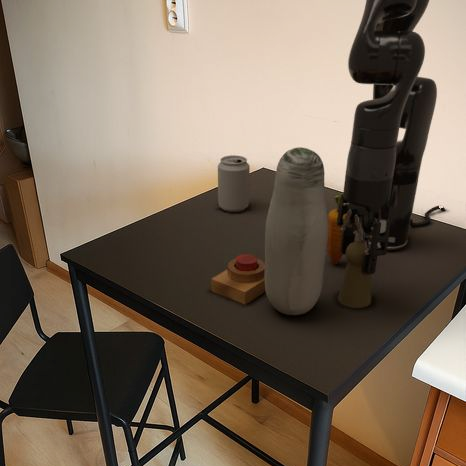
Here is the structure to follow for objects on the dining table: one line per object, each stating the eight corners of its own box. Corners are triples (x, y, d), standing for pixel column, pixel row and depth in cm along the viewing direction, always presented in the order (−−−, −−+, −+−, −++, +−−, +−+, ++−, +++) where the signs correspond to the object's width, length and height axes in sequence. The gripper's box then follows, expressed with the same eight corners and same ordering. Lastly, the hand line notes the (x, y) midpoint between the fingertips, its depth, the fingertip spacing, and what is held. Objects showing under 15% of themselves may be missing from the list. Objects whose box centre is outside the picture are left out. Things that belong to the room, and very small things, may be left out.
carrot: (332, 256, 122) (340, 186, 114) (352, 264, 119) (361, 192, 111) (317, 264, 119) (324, 192, 111) (337, 272, 117) (345, 199, 108)
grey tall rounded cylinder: (328, 320, 102) (345, 157, 86) (271, 327, 100) (278, 162, 84) (309, 292, 110) (322, 139, 94) (256, 298, 108) (260, 143, 92)
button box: (211, 291, 110) (210, 269, 108) (247, 270, 117) (247, 249, 115) (245, 305, 106) (245, 283, 104) (280, 282, 113) (281, 260, 111)
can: (249, 213, 141) (249, 163, 134) (217, 213, 141) (217, 163, 134) (248, 202, 147) (249, 153, 140) (218, 201, 147) (218, 153, 140)
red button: (231, 268, 109) (231, 259, 108) (244, 260, 112) (244, 252, 111) (248, 274, 107) (248, 265, 106) (261, 266, 110) (261, 258, 109)
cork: (371, 309, 105) (379, 253, 99) (336, 306, 106) (343, 250, 100) (371, 293, 110) (379, 238, 104) (338, 290, 111) (345, 235, 105)
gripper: (413, 184, 90) (395, 279, 99) (370, 156, 101) (358, 244, 110) (368, 188, 88) (354, 284, 97) (330, 160, 99) (321, 248, 108)
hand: (356, 263), depth 104 cm, fingers open, 8 cm apart
